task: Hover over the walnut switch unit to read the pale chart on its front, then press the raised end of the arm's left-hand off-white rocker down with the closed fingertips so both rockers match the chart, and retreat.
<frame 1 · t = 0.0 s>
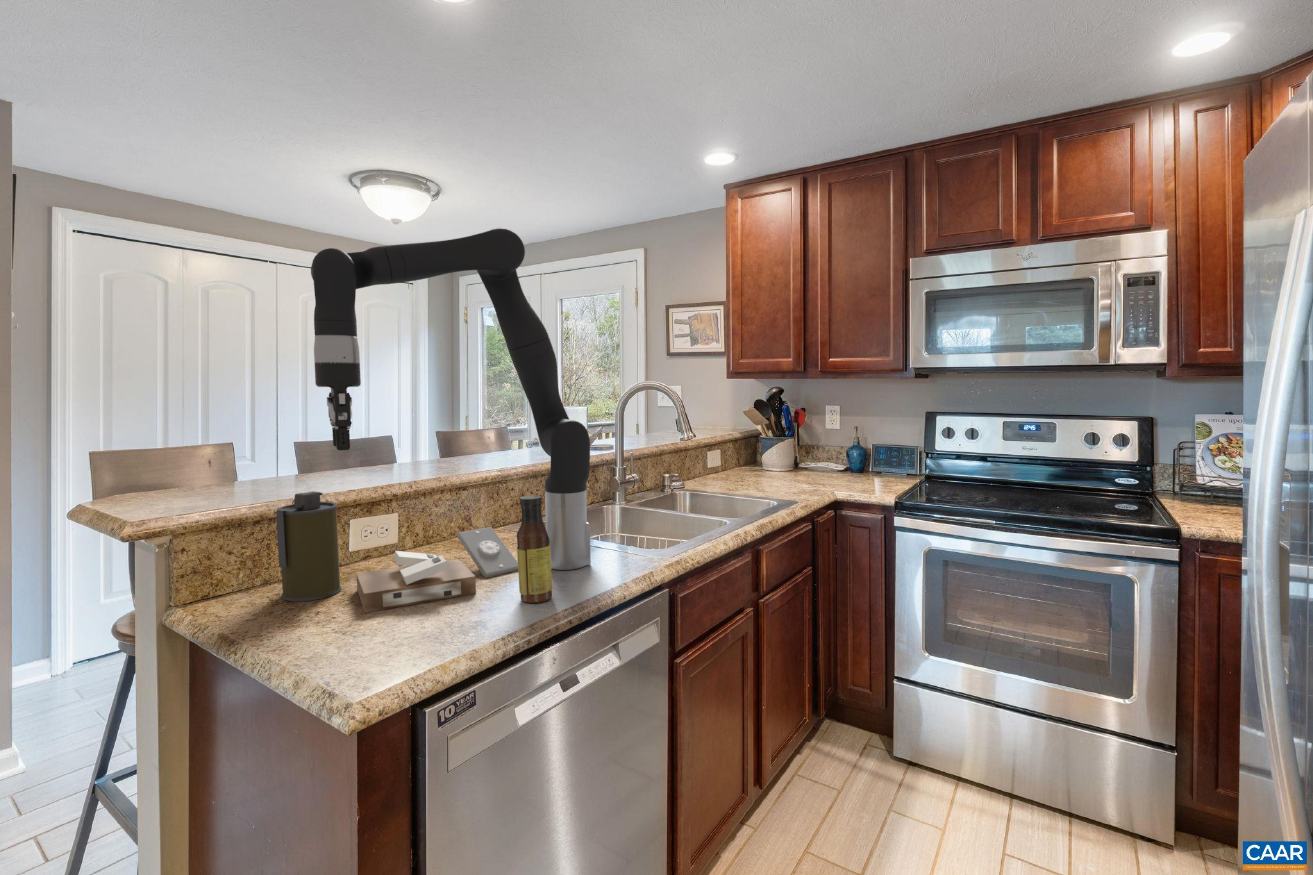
hand: (341, 448, 118), 29 cm above the counter, fingers open, 8 cm apart
rocker 2: (424, 569, 121), point 5 cm above the counter, hinge at 14.0°
switch unit: (416, 592, 125), on the counter
rocker 1: (416, 559, 128), point 5 cm above the counter, hinge at -14.0°
light switch: (488, 568, 141), on the counter
sauce bottle: (535, 599, 121), on the counter
canister: (311, 594, 124), on the counter
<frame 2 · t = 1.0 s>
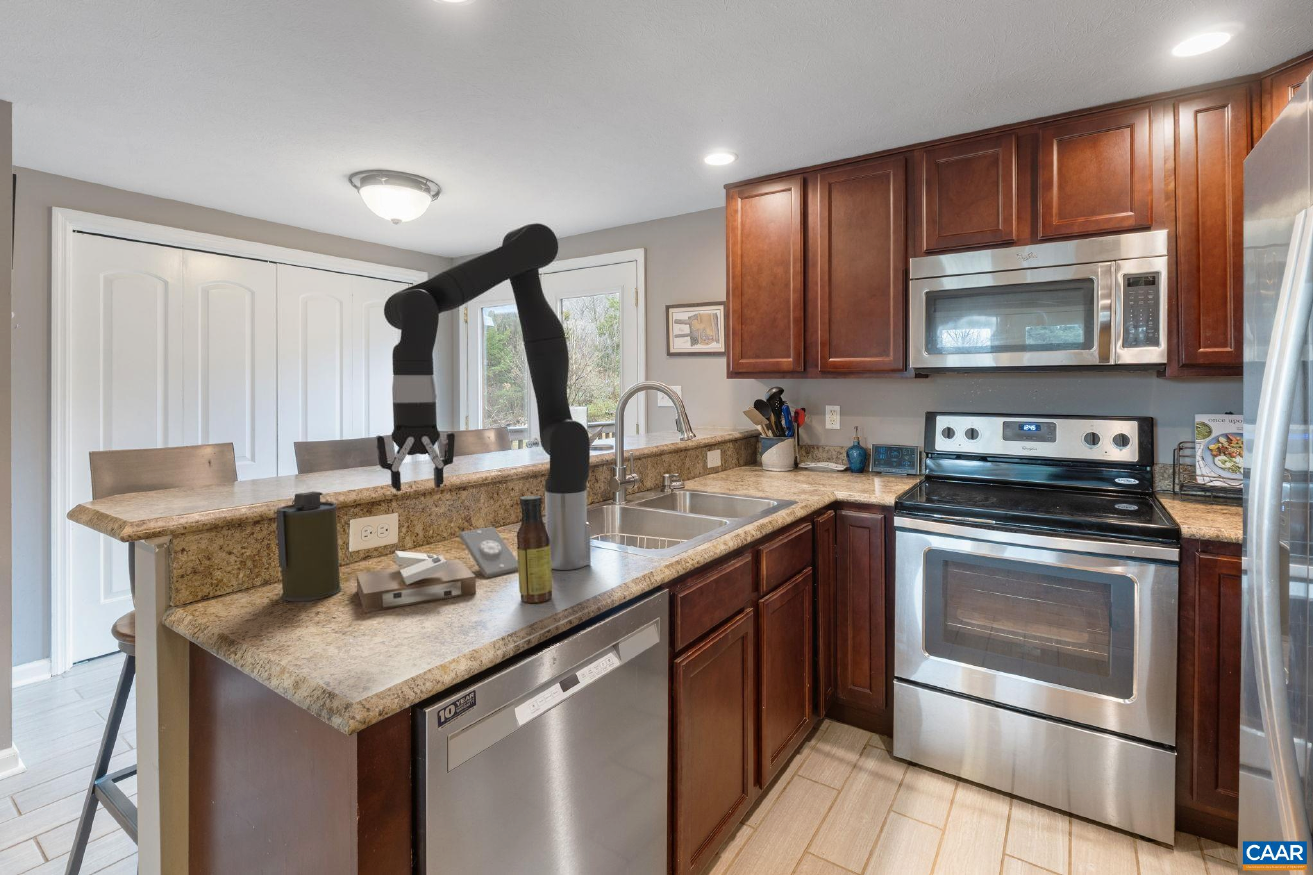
hand: (417, 488, 118), 22 cm above the counter, fingers open, 6 cm apart
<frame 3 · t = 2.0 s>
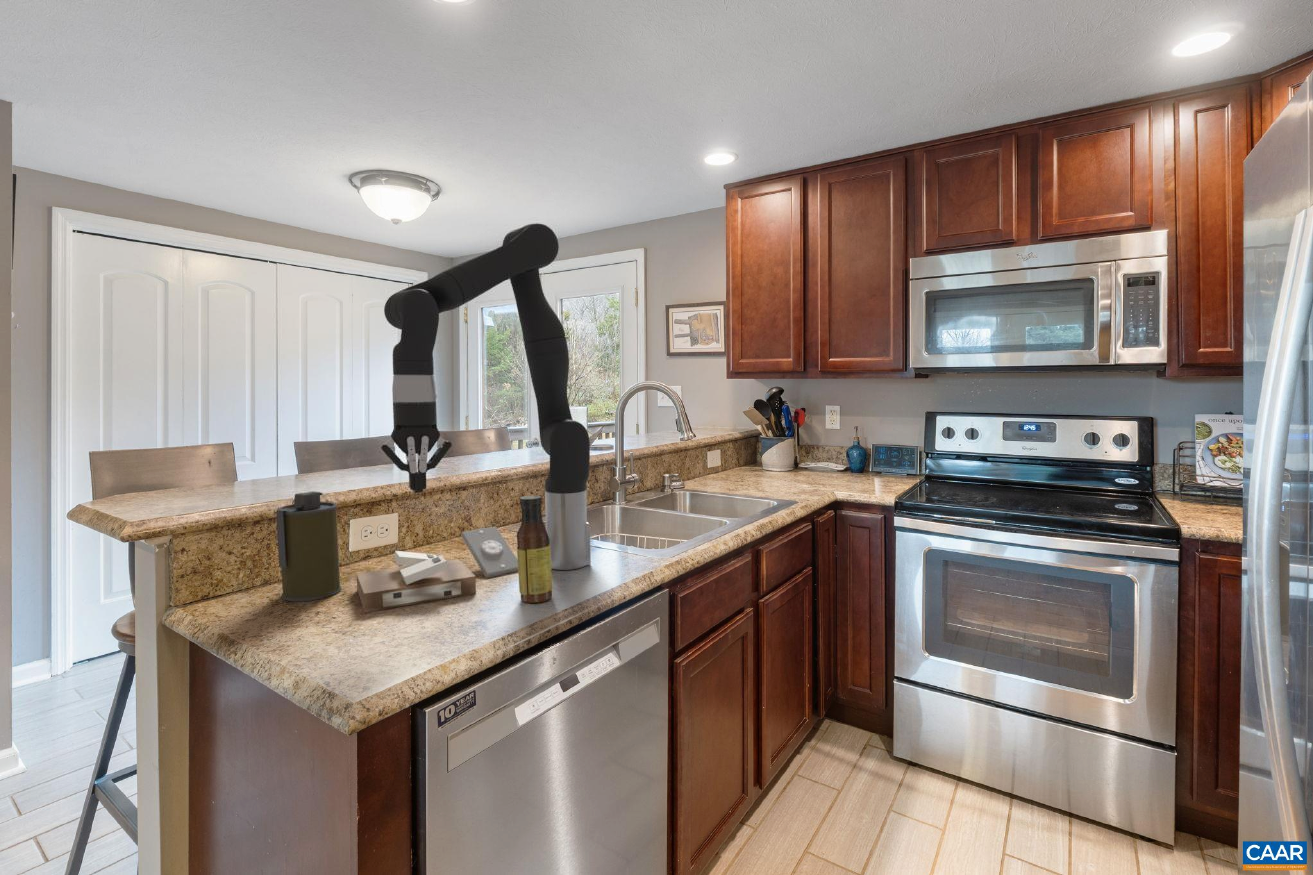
hand: (417, 492, 118), 21 cm above the counter, fingers closed
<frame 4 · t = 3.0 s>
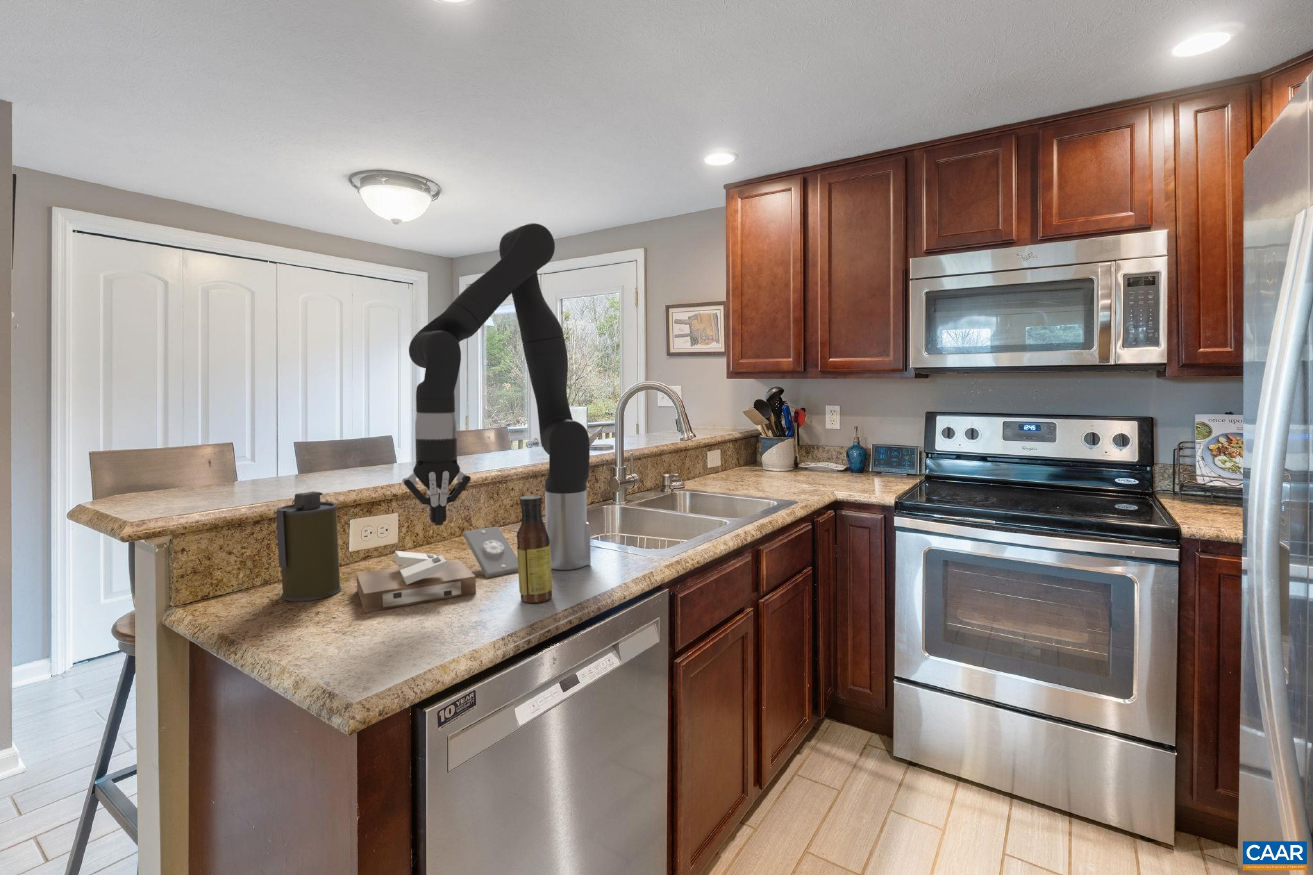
hand: (437, 524, 122), 14 cm above the counter, fingers closed
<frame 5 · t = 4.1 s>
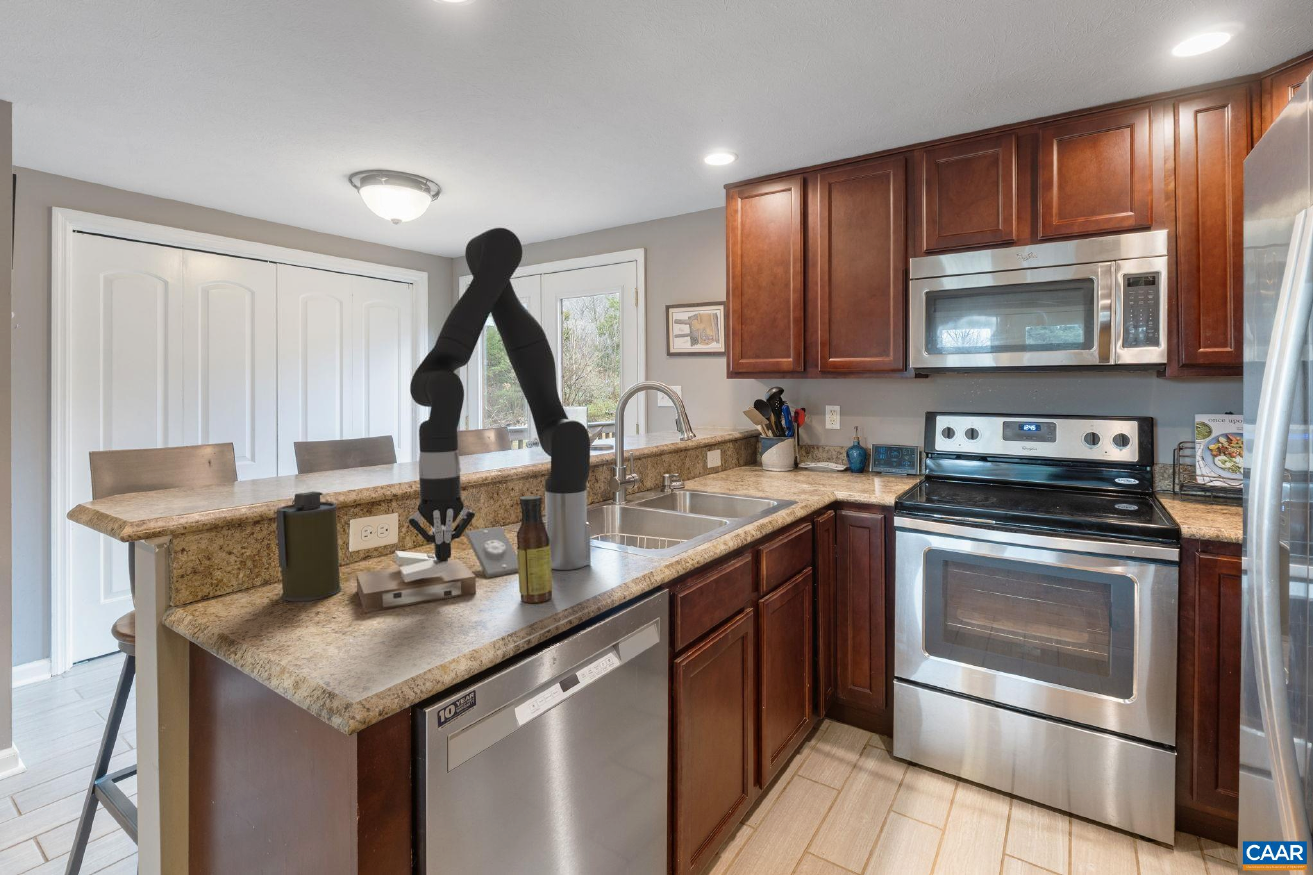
hand: (442, 561, 123), 7 cm above the counter, fingers closed
rocker 2: (424, 569, 121), point 5 cm above the counter, hinge at 6.5°, touching gripper
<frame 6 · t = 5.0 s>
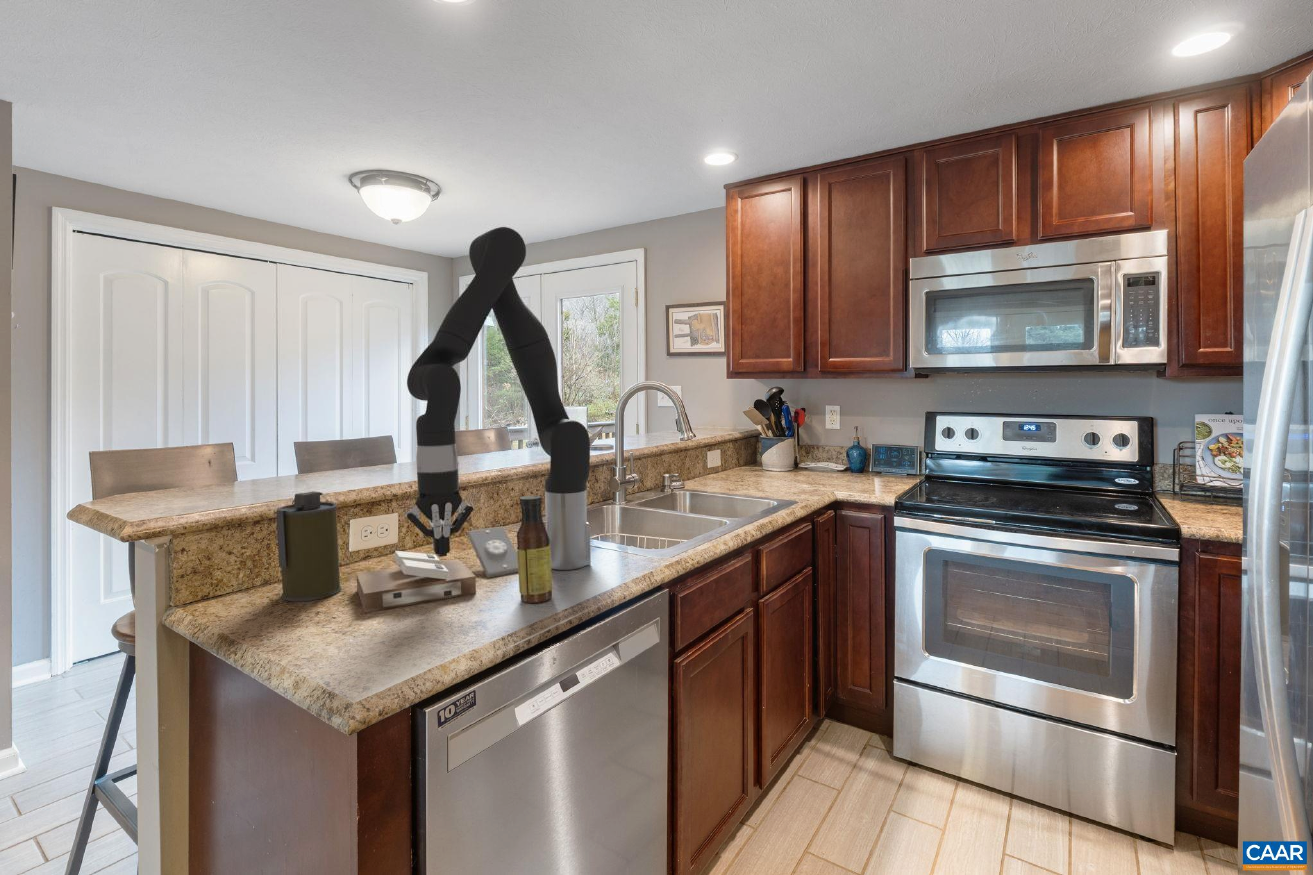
hand: (441, 555, 122), 8 cm above the counter, fingers closed
rocker 2: (424, 569, 121), point 5 cm above the counter, hinge at -16.9°
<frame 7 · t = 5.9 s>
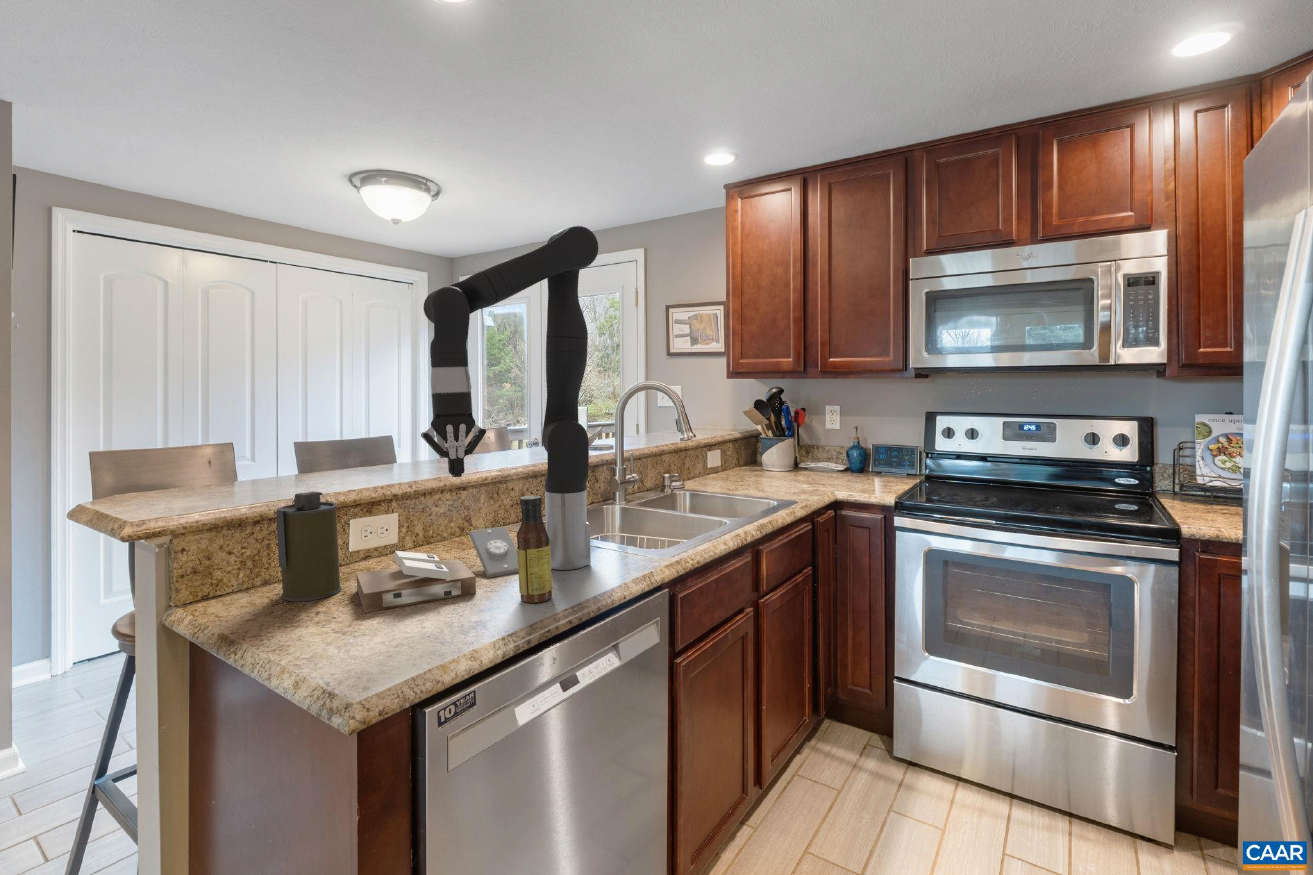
hand: (456, 476, 126), 23 cm above the counter, fingers closed
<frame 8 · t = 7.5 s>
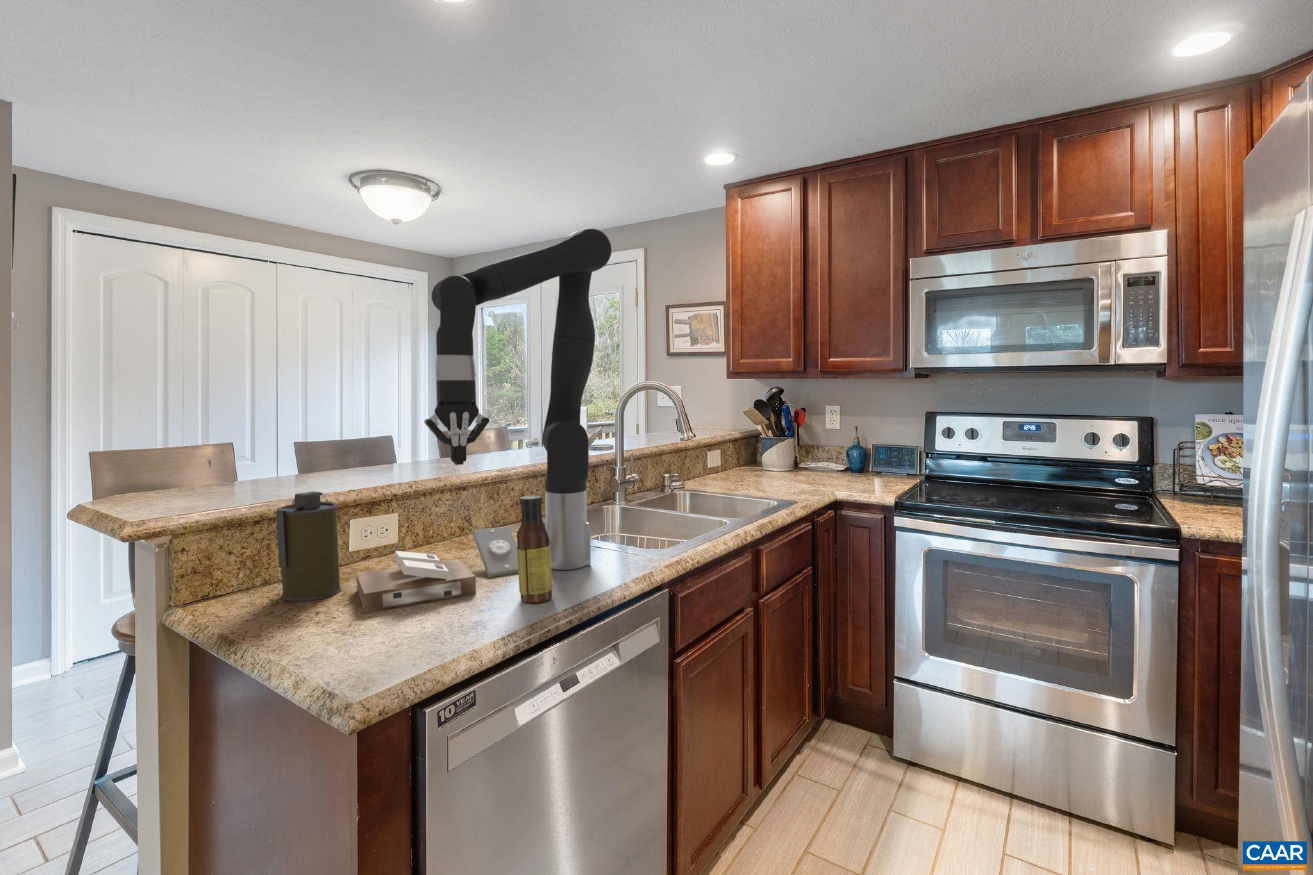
hand: (458, 464, 127), 25 cm above the counter, fingers closed
rocker 2: (424, 569, 121), point 5 cm above the counter, hinge at -15.7°
at the end: rocker 2 at -16° (first picture: +14°); rocker 1 at -14° (first picture: -14°) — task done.
